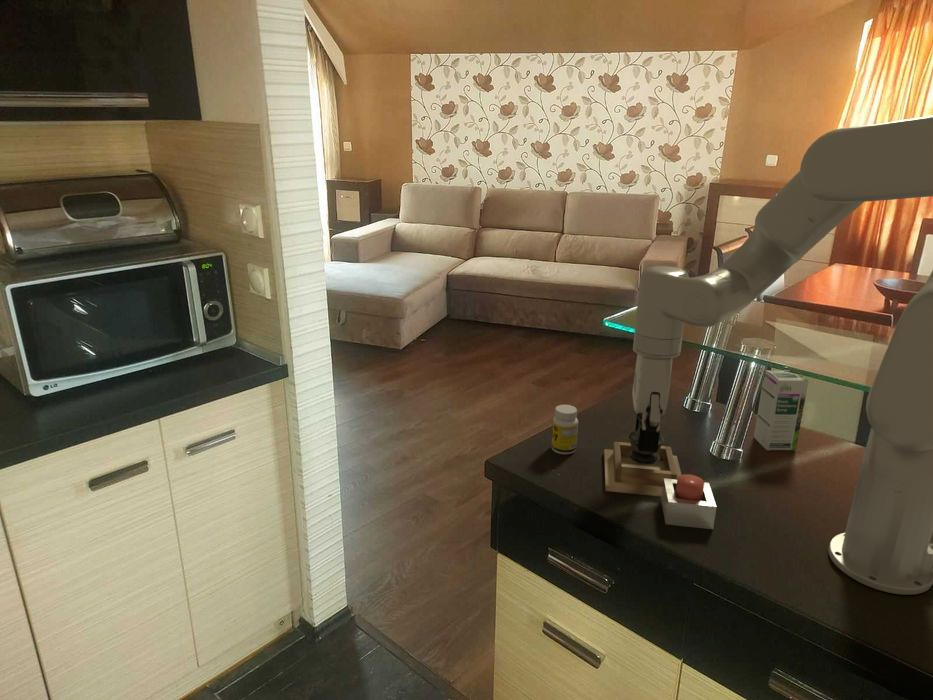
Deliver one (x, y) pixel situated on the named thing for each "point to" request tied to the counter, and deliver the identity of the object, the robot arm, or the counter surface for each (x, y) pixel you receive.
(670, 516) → the button box
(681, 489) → the button
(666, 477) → the open wooden tray
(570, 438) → the supplement bottle
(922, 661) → the counter surface
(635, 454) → the dark stone statuette
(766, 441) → the syrup box
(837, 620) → the counter surface
